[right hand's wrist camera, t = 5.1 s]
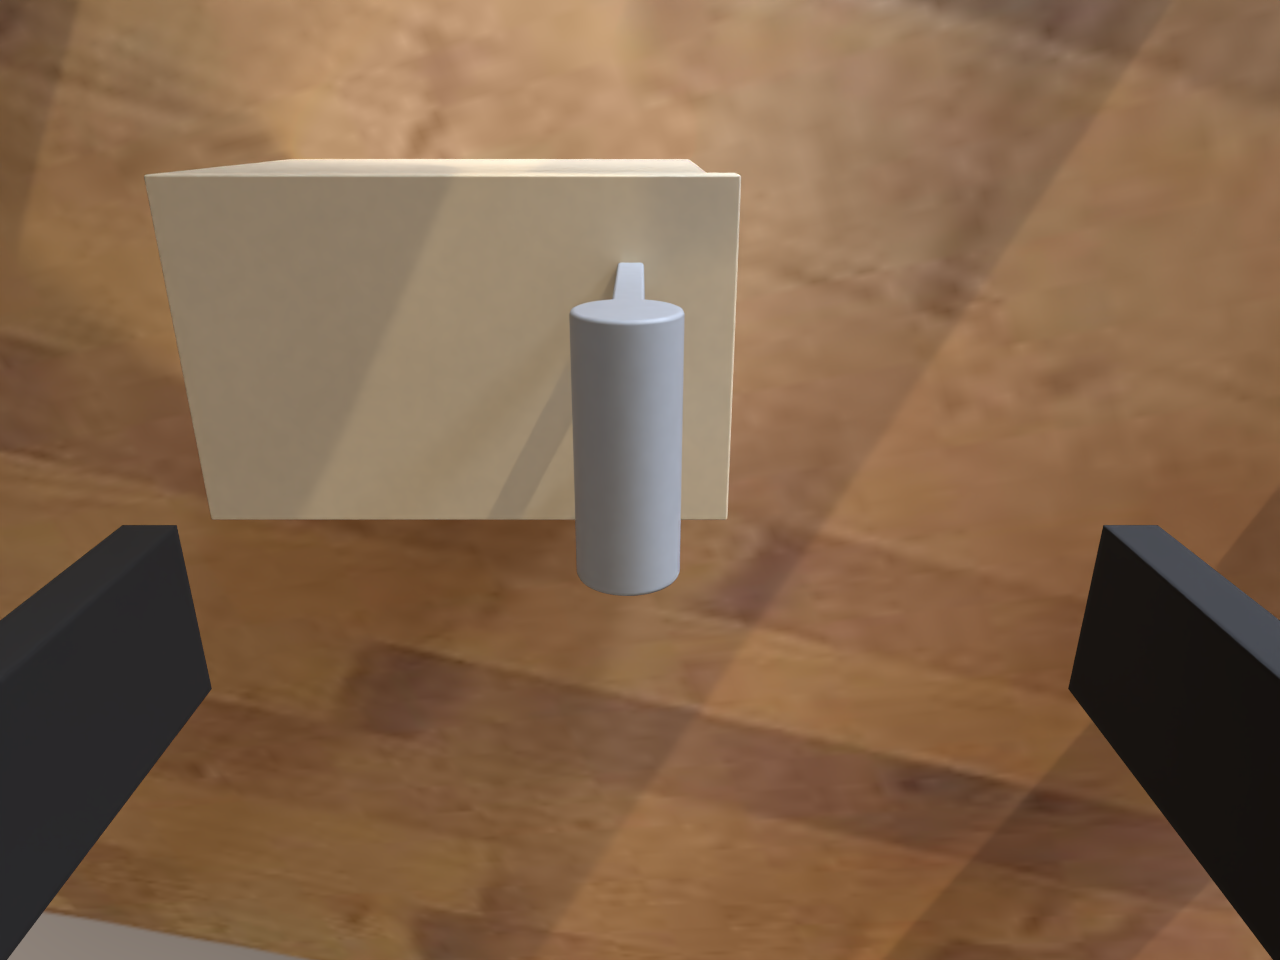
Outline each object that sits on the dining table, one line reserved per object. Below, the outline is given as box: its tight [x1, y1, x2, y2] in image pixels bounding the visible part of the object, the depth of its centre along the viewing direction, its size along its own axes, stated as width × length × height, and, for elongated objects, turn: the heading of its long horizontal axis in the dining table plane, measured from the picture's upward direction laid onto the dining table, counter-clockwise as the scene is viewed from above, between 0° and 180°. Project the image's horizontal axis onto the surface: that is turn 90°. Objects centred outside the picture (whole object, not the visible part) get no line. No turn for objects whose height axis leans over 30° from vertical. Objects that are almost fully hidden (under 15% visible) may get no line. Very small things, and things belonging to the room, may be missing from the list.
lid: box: [144, 173, 741, 596], centre depth 21 cm, size 15×10×9 cm, turn 90°
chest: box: [168, 159, 706, 173], centre depth 30 cm, size 14×10×9 cm
